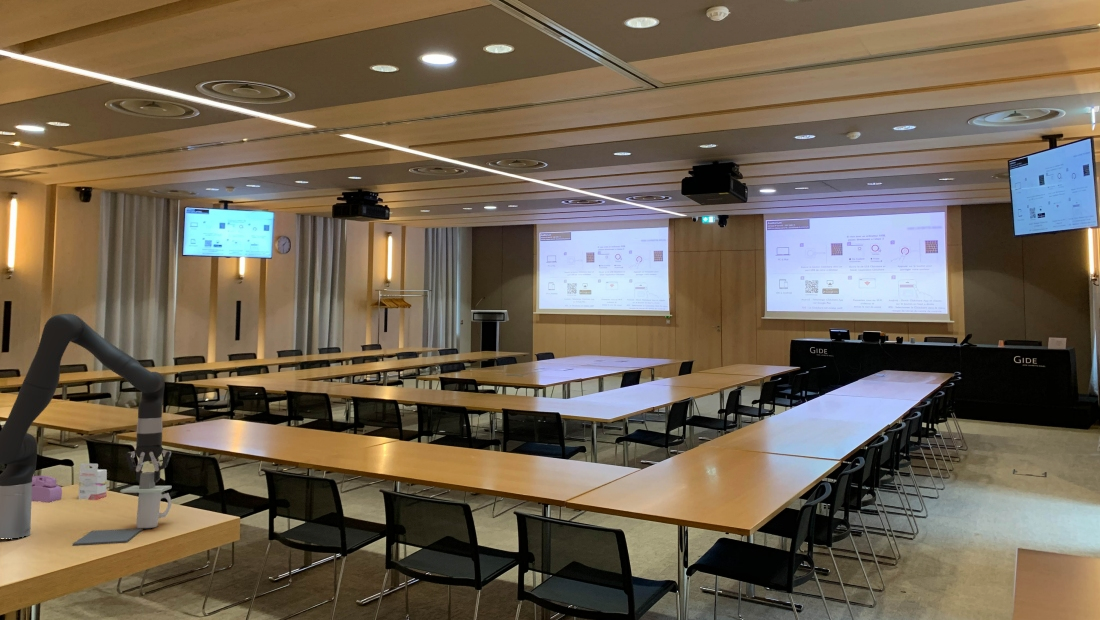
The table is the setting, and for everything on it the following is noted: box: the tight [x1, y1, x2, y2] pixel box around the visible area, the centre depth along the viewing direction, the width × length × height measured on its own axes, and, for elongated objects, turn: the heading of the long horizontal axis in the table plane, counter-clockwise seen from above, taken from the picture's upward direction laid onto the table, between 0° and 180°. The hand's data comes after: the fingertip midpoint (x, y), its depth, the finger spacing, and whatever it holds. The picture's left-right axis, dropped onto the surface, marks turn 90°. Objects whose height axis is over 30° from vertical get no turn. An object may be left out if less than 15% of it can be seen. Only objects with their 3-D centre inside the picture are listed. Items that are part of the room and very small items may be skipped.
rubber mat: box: [72, 527, 144, 547], centre depth 224 cm, size 15×15×1 cm
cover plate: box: [119, 471, 172, 494], centre depth 237 cm, size 12×12×6 cm
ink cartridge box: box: [78, 462, 108, 501], centre depth 277 cm, size 9×5×15 cm, turn 81°
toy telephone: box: [31, 475, 63, 503], centre depth 275 cm, size 18×6×10 cm, turn 72°
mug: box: [135, 492, 172, 529], centre depth 237 cm, size 10×7×12 cm, turn 120°
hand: (148, 481), depth 236 cm, fingers open, 4 cm apart
